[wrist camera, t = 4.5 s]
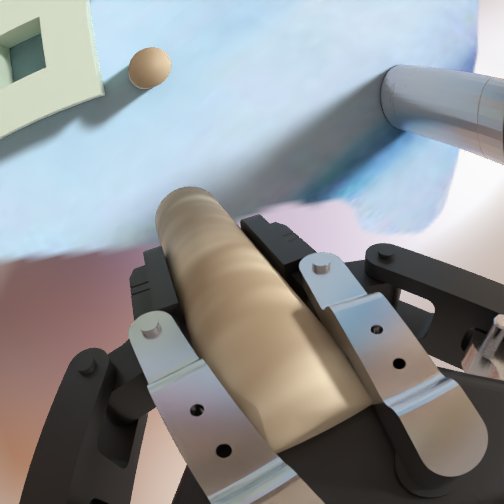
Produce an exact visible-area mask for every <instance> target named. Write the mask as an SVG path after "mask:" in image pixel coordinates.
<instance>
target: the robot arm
mask: <svg viewBox="0 0 504 504" xmlns="http://www.w3.org/2000/svg"><path fill="white" fill-rule="evenodd" d="M381 103H382V108H383V111H384V114H385V116H386V118H387V120H388V121H389V122H390V124H392V125H393V126H394V127H395V128H397V129H400V130H403V131H407V132H411V133H414V134H418V135H421V136H424V137H427V138H430V139H434V140H437V141H440V142H443V143H446V144H449V145H452V146H455V147H458V148H460V149H463V150H466V151H469V152H472V153H474V154H477V155H479V156H482V157H484V158H487V159H490V160H492V161H495V162H497V163H500V164H502V165H504V79H501V78H495V77H491V76H486V75H481V74H475V73H469V72H463V71H457V70H450V69H442V68H433V67H424V66H412V65H397V66H395V67H393V68H391V69H390V70H389V71H388V72H387V74H386V76H385V78H384V80H383V83H382V88H381ZM240 224H241V229H242V231H243V232H244V233H245V234H246V235H247V236H248V238H249V239H250V240H251V241H252V242H253V243H254V245H255V246H256V247H257V248H258V249H259V251H260V252H261V253H262V254H263V255H264V256H265V258H266V259H267V260H268V261H269V262H270V263H271V265H272V266H273V267H274V268H275V269H276V270H277V272H278V273H279V274H280V275H281V276H282V277H283V279H284V280H285V281H286V282H287V283H288V284H289V286H290V287H291V288H292V289H293V290H294V292H295V293H296V294H297V295H298V296H299V297H300V299H301V300H302V301H303V302H304V303H305V304H306V306H307V307H308V308H309V309H310V310H311V312H312V313H313V314H314V315H315V316H316V317H317V319H318V320H319V321H320V322H321V323H322V325H323V326H324V327H325V328H326V330H327V331H328V333H329V334H330V335H331V337H332V338H333V339H334V341H335V342H336V344H337V345H338V347H339V348H341V349H343V350H344V352H345V353H346V355H347V358H348V359H349V360H350V362H351V364H352V366H353V368H354V370H355V372H356V374H357V375H358V377H359V379H360V381H361V383H362V385H363V386H364V388H365V390H366V391H367V393H368V395H369V396H370V398H371V400H372V405H370V406H369V407H367V408H365V409H364V410H362V411H360V412H358V413H357V414H355V415H353V416H352V417H350V418H348V419H346V420H344V421H343V422H341V423H339V424H337V425H335V426H333V427H332V428H330V429H328V430H326V431H324V432H322V433H320V434H318V435H316V436H314V437H312V438H310V439H308V440H306V441H304V442H302V443H300V444H298V445H295V446H293V447H291V448H289V449H287V450H284V451H282V452H280V453H277V454H276V453H275V452H274V451H273V449H272V448H271V447H270V446H269V445H268V443H267V442H266V441H265V440H264V439H263V437H262V436H261V435H260V434H259V432H258V431H257V430H256V429H255V428H254V426H253V425H252V424H251V423H250V421H249V420H248V419H247V417H246V416H245V415H244V414H243V412H242V411H241V410H240V408H239V407H238V406H237V405H236V403H235V402H234V401H233V399H232V398H231V397H230V395H229V394H228V393H227V391H226V390H225V389H224V387H223V386H222V384H221V383H220V382H219V380H218V379H217V378H216V376H215V375H214V373H213V372H212V371H211V369H210V368H209V366H208V365H207V364H206V362H205V361H204V360H203V359H202V358H198V356H197V355H196V353H195V352H194V349H193V346H192V343H191V340H190V338H189V335H188V332H187V328H186V321H185V318H184V315H183V312H182V309H181V306H180V303H179V300H178V297H177V294H176V291H175V287H174V284H173V281H172V278H171V274H170V271H169V268H168V264H167V261H166V258H165V255H164V252H163V249H162V246H159V247H156V248H153V249H150V250H147V251H145V252H143V254H144V260H145V265H144V266H141V267H139V268H136V269H134V270H133V272H132V275H131V277H130V287H131V295H132V296H131V298H132V306H133V315H134V322H133V323H132V324H131V326H130V328H129V332H128V336H129V339H128V341H126V343H124V344H123V345H122V346H120V347H119V348H117V349H116V350H114V351H113V352H111V353H109V354H108V355H107V353H106V352H105V351H104V350H102V349H99V348H89V349H86V350H84V351H82V352H80V353H79V354H77V355H76V356H75V357H74V358H73V360H72V361H71V362H70V364H69V366H68V368H67V371H66V373H65V375H64V377H63V380H62V382H61V384H60V387H59V389H58V391H57V394H56V396H55V399H54V401H53V404H52V406H51V409H50V411H49V414H48V416H47V419H46V422H45V424H44V427H43V429H42V432H41V435H40V438H39V441H38V444H37V446H36V449H35V452H34V455H33V458H32V461H31V464H30V468H29V471H28V474H27V478H26V481H25V485H24V488H23V492H22V495H21V499H20V503H19V504H130V501H131V495H132V490H133V484H134V479H135V474H136V469H137V464H138V459H139V454H140V449H141V444H142V440H143V435H144V431H145V426H146V422H147V417H148V412H149V411H151V410H152V409H154V408H155V407H157V409H158V411H159V413H160V415H161V417H162V419H163V421H164V423H165V425H166V427H167V429H168V431H169V433H170V435H171V436H172V438H173V440H174V442H175V444H176V446H177V448H178V449H179V451H180V453H181V455H182V456H183V458H184V460H185V462H186V463H187V466H186V468H185V471H184V473H183V476H182V478H181V481H180V484H179V486H178V489H177V491H176V494H175V496H174V499H173V501H172V504H504V285H503V284H500V283H498V282H495V281H492V280H490V279H487V278H485V277H482V276H480V275H477V274H474V273H472V272H469V271H466V270H463V269H461V268H458V267H455V266H453V265H450V264H447V263H444V262H442V261H439V260H436V259H433V258H430V257H427V256H424V255H422V254H419V253H416V252H413V251H410V250H407V249H404V248H401V247H399V246H395V245H392V244H386V243H380V244H375V245H372V246H370V247H369V248H368V249H367V250H366V255H365V260H361V261H354V262H346V263H344V262H343V261H342V260H341V259H340V258H339V257H338V256H336V255H334V254H330V253H324V252H320V253H317V252H316V251H315V250H314V249H312V248H311V247H310V246H309V245H308V244H307V243H306V242H304V241H303V240H302V239H301V238H299V236H298V235H296V234H295V233H293V231H292V230H290V229H289V228H288V227H287V226H285V225H282V224H279V223H277V222H274V223H272V224H269V223H268V222H267V221H266V220H265V219H264V218H263V217H262V216H261V215H259V214H258V215H255V216H252V217H249V218H245V219H242V220H241V222H240ZM401 289H403V290H405V291H407V292H410V293H413V294H415V295H418V296H420V297H423V298H425V299H428V300H429V301H431V302H432V303H433V305H434V307H435V313H429V312H426V311H424V310H422V309H419V308H417V307H415V306H412V305H410V304H407V303H405V302H402V301H400V300H399V297H400V293H401ZM428 355H431V356H433V357H435V358H437V359H440V360H442V361H444V362H446V363H449V364H451V365H453V366H455V367H458V368H460V369H462V370H464V372H465V373H463V372H458V371H454V370H449V369H445V368H441V367H436V365H435V364H434V363H433V361H432V360H431V358H430V357H429V356H428Z"/></svg>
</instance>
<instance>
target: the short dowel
mask: <svg viewBox="0 0 504 504" xmlns="http://www.w3.org/2000/svg"><path fill="white" fill-rule="evenodd" d="M170 70H171V61H170V58H169V56H168V55H167V54H166V53H165V52H164V51H163V50H161V49H158V48H145V49H143V50H141V51H139V52H137V53H136V54H135V55H134V56H133V58H132V59H131V61H130V64H129V79H130V81H131V83H132V84H133V85H134V86H135V87H137V88H139V89H150V88H153V87H155V86H157V85H159V84H161V83H162V82H163V81H164V80H165V79H166V78H167V77H168V75H169V73H170Z"/></svg>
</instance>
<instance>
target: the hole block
mask: <svg viewBox="0 0 504 504" xmlns="http://www.w3.org/2000/svg"><path fill="white" fill-rule="evenodd" d="M39 34H41V35H42V43H43V50H44V56H45V63H46V68H43V69H41V70H39V71H37V72H34V73H32V74H30V75H28V76H26V77H24V78H22V79H20V80H18V81H16V82H14V78H13V72H12V66H11V59H10V52H9V48H11V47H13V46H15V45H17V44H19V43H22V42H24V41H26V40H28V39H30V38H32V37H34V36H37V35H39ZM104 95H105V91H104V86H103V81H102V76H101V71H100V66H99V60H98V55H97V49H96V43H95V36H94V30H93V23H92V15H91V7H90V0H0V139H2V138H4V137H6V136H8V135H10V134H12V133H14V132H16V131H18V130H20V129H22V128H24V127H26V126H28V125H30V124H33V123H35V122H37V121H39V120H41V119H44V118H46V117H48V116H51V115H53V114H55V113H58V112H60V111H63V110H65V109H68V108H70V107H73V106H76V105H78V104H81V103H84V102H87V101H89V100H92V99H95V98H98V97H101V96H104Z"/></svg>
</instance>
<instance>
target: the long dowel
mask: <svg viewBox="0 0 504 504" xmlns="http://www.w3.org/2000/svg"><path fill="white" fill-rule="evenodd" d="M155 222H156V228H157V232H158V236H159V239H160V243H161V246H162V249H163V252H164V255H165V258H166V261H167V264H168V268H169V271H170V274H171V278H172V281H173V284H174V287H175V291H176V294H177V297H178V300H179V303H180V306H181V309H182V312H183V315H184V318H185V321H186V328H187V332H188V335H189V338H190V340H191V343H192V346H193V349H194V352H195V353H196V355H197V356H198V358H202V359H203V360H204V361H205V362H206V364H207V365H208V366H209V368H210V369H211V371H212V372H213V373H214V375H215V376H216V378H217V379H218V380H219V382H220V383H221V384H222V386H223V387H224V389H225V390H226V391H227V393H228V394H229V395H230V397H231V398H232V399H233V401H234V402H235V403H236V405H237V406H238V407H239V408H240V410H241V411H242V412H243V414H244V415H245V416H246V417H247V419H248V420H249V421H250V423H251V424H252V425H253V426H254V428H255V429H256V430H257V431H258V432H259V434H260V435H261V436H262V437H263V439H264V440H265V441H266V442H267V443H268V445H269V446H270V447H271V448H272V449H273V451H274V452H275V453H276V454H277V453H280V452H282V451H284V450H287V449H289V448H291V447H293V446H295V445H298V444H300V443H302V442H304V441H306V440H308V439H310V438H312V437H314V436H316V435H318V434H320V433H322V432H324V431H326V430H328V429H330V428H332V427H333V426H335V425H337V424H339V423H341V422H343V421H344V420H346V419H348V418H350V417H352V416H353V415H355V414H357V413H358V412H360V411H362V410H364V409H365V408H367V407H369V406H370V405H372V400H371V398H370V396H369V395H368V393H367V391H366V390H365V388H364V386H363V385H362V383H361V381H360V379H359V377H358V375H357V374H356V372H355V370H354V368H353V366H352V364H351V362H350V360H349V359H348V358H347V355H346V353H345V352H344V350H343V349H341V348H339V347H338V345H337V344H336V342H335V341H334V339H333V338H332V337H331V335H330V334H329V333H328V331H327V330H326V328H325V327H324V326H323V325H322V323H321V322H320V321H319V320H318V319H317V317H316V316H315V315H314V314H313V313H312V312H311V310H310V309H309V308H308V307H307V306H306V304H305V303H304V302H303V301H302V300H301V299H300V297H299V296H298V295H297V294H296V293H295V292H294V290H293V289H292V288H291V287H290V286H289V284H288V283H287V282H286V281H285V280H284V279H283V277H282V276H281V275H280V274H279V273H278V272H277V270H276V269H275V268H274V267H273V266H272V265H271V263H270V262H269V261H268V260H267V259H266V258H265V256H264V255H263V254H262V253H261V252H260V251H259V249H258V248H257V247H256V246H255V245H254V243H253V242H252V241H251V240H250V239H249V238H248V236H247V235H246V234H245V233H244V232H243V231H242V229H241V228H240V227H239V226H238V225H237V224H236V222H235V221H234V220H233V219H232V218H231V217H230V216H229V214H228V213H227V212H226V211H225V210H224V209H223V207H222V206H221V205H220V204H219V203H218V202H217V200H216V199H215V198H214V197H213V196H212V195H211V194H210V193H209V192H207V191H206V190H204V189H201V188H198V187H184V188H180V189H177V190H175V191H173V192H171V193H170V194H168V195H167V196H166V197H165V198H164V199H163V201H162V202H161V203H160V205H159V207H158V209H157V212H156V219H155Z"/></svg>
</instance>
